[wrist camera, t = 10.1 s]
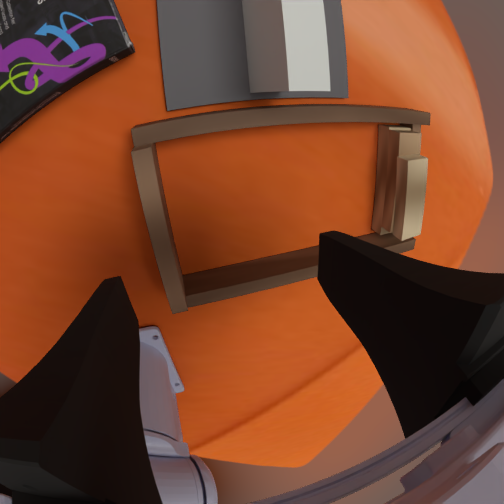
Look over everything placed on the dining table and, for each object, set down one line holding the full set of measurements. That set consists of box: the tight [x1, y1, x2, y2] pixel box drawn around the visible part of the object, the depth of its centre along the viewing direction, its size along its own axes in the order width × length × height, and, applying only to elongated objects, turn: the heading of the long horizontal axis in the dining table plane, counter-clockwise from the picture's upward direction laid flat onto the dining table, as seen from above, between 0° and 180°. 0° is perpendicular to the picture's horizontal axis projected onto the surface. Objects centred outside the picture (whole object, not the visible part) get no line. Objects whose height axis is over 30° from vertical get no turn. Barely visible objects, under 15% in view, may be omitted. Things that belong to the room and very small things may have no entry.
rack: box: [131, 104, 430, 314], centre depth 19 cm, size 12×20×4 cm, turn 95°
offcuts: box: [371, 125, 428, 241], centre depth 20 cm, size 9×3×4 cm, turn 5°
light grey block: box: [242, 0, 330, 93], centre depth 12 cm, size 8×2×6 cm, turn 5°
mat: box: [157, 0, 348, 111], centre depth 14 cm, size 9×12×1 cm
